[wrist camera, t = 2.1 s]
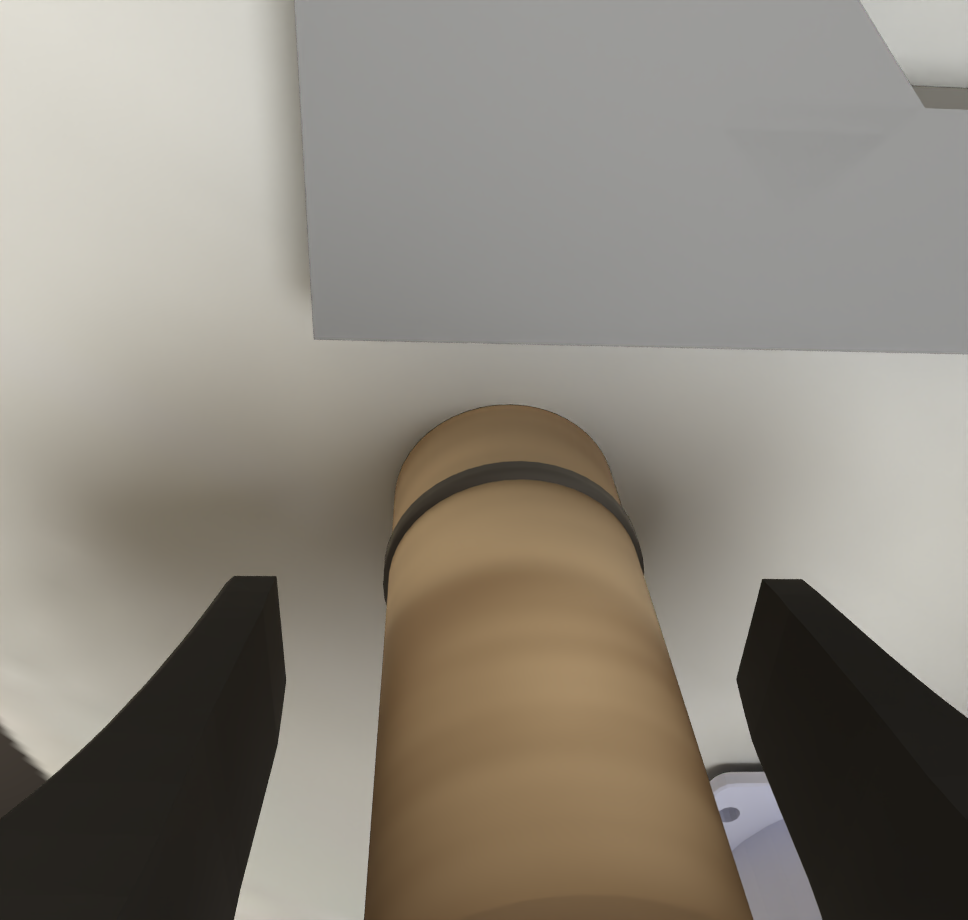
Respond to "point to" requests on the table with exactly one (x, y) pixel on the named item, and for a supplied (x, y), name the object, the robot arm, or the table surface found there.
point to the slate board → (629, 176)
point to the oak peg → (531, 697)
